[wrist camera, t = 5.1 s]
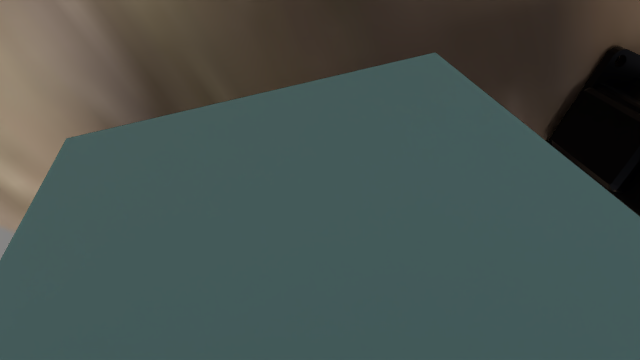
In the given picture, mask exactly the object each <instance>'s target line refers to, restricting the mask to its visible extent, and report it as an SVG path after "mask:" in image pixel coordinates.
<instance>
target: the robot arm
mask: <svg viewBox="0 0 640 360" xmlns="http://www.w3.org/2000/svg"><path fill="white" fill-rule="evenodd" d="M619 56H620V58H619V60H618V61H617V62H616V63H615V61H616V59H617V58H618V57H619ZM548 143H549V144H550V145H551V146H553V147H554V148H555V149H556V150H558V151H559V152H560V153H561V154H563V155H564V156H565V157H566V158H567V159H569V160H570V161H571V162H572V163H574V164H575V165H576V166H577V167H579V168H580V169H581V170H582V171H584V172H585V173H586V174H587V175H589V176H590V177H591V178H592V179H594V180H595V181H596V182H597V183H599V184H600V185H601V186H602V187H604V188H605V189H606V190H607V191H609V192H610V193H611V194H612V195H614V196H615V197H616V198H617V199H619V200H620V201H621V202H622V203H624V204H625V205H626V206H627V207H629V208H630V209H631V210H632V211H633V212H635V213H636V214H637V215H638V216H640V55H638V54H636V53H634V52H632V51H630V50H627V49H625V48H623V47H619V46H617V47H613V48H612V49H610V50H609V51H608V52H607V53H606V54H605V56H604V57H603V59H602V61H601V62H600V64H599V65H598V67H597V68H596V70H595V71H594V73H593V74H592V76H591V77H590V79H589V80H588V82H587V83H586V85H585V86H584V88H583V89H582V91H581V92H580V94H579V95H578V97H577V98H576V100H575V101H574V103H573V105H572V106H571V108H570V109H569V111H568V112H567V114H566V115H565V117H564V118H563V120H562V121H561V123H560V124H559V126H558V127H557V129H556V130H555V132H554V133H553V135H552V136H551V138H550V139H549V141H548Z"/></svg>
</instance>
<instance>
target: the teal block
mask: <svg viewBox="0 0 640 360" xmlns="http://www.w3.org/2000/svg"><path fill="white" fill-rule="evenodd" d="M0 360H640V216H638V215H637V214H636V213H635V212H633V211H632V210H631V209H630V208H629V207H627V206H626V205H625V204H624V203H622V202H621V201H620V200H619V199H617V198H616V197H615V196H614V195H612V194H611V193H610V192H609V191H607V190H606V189H605V188H604V187H602V186H601V185H600V184H599V183H597V182H596V181H595V180H594V179H592V178H591V177H590V176H589V175H587V174H586V173H585V172H584V171H582V170H581V169H580V168H579V167H577V166H576V165H575V164H574V163H572V162H571V161H570V160H569V159H567V158H566V157H565V156H564V155H563V154H561V153H560V152H559V151H558V150H556V149H555V148H554V147H553V146H551V145H550V144H549V143H548V142H546V141H545V140H544V139H543V138H541V137H540V136H539V135H538V134H536V133H535V132H534V131H533V130H531V129H530V128H529V127H528V126H526V125H525V124H524V123H523V122H521V121H520V120H519V119H518V118H516V117H515V116H514V115H513V114H511V113H510V112H509V111H508V110H506V109H505V108H504V107H503V106H501V105H500V104H499V103H498V102H497V101H495V100H494V99H493V98H492V97H490V96H489V95H488V94H487V93H485V92H484V91H483V90H482V89H480V88H479V87H478V86H477V85H475V84H474V83H473V82H472V81H470V80H469V79H468V78H467V77H465V76H464V75H463V74H462V73H460V72H459V71H458V70H457V69H455V68H454V67H453V66H452V65H450V64H449V63H448V62H447V61H445V60H444V59H443V58H442V57H440V56H439V55H438V54H437V53H431V54H426V55H422V56H418V57H413V58H409V59H405V60H401V61H396V62H392V63H388V64H383V65H379V66H375V67H371V68H366V69H362V70H358V71H353V72H349V73H345V74H341V75H336V76H332V77H328V78H324V79H319V80H315V81H311V82H306V83H302V84H298V85H294V86H289V87H285V88H281V89H276V90H272V91H268V92H264V93H259V94H255V95H251V96H247V97H242V98H238V99H234V100H229V101H225V102H221V103H217V104H212V105H208V106H204V107H199V108H195V109H191V110H187V111H182V112H178V113H174V114H169V115H165V116H161V117H157V118H152V119H148V120H144V121H140V122H135V123H131V124H127V125H122V126H118V127H114V128H110V129H105V130H101V131H97V132H92V133H88V134H84V135H80V136H75V137H71V138H67V139H66V140H65V142H64V144H63V146H62V148H61V150H60V151H59V153H58V155H57V157H56V159H55V161H54V162H53V164H52V166H51V168H50V170H49V172H48V173H47V175H46V177H45V179H44V181H43V183H42V185H41V186H40V188H39V190H38V192H37V194H36V196H35V197H34V199H33V201H32V203H31V205H30V207H29V208H28V210H27V212H26V214H25V216H24V218H23V219H22V221H21V223H20V225H19V227H18V229H17V230H16V232H15V234H14V236H13V238H12V240H11V242H10V243H9V245H8V247H7V249H6V251H5V253H4V254H3V256H2V258H1V260H0Z"/></svg>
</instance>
